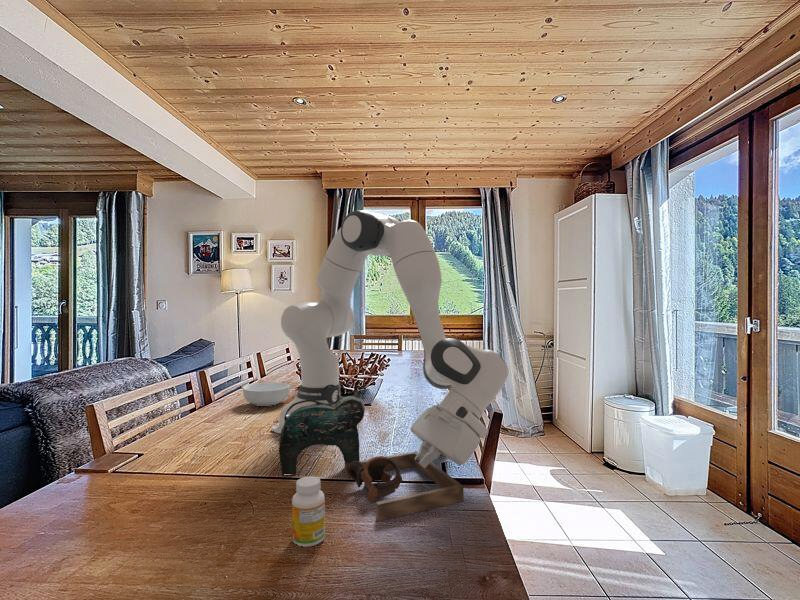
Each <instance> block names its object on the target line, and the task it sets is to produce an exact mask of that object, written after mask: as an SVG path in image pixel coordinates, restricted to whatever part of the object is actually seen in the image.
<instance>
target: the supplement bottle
mask: <svg viewBox="0 0 800 600" xmlns="http://www.w3.org/2000/svg"><path fill="white" fill-rule="evenodd" d="M321 485H322V483H321V479H320V477H317V476H304V477H301V478H299V479H297V480H296V483H295V488H296V489H295V492H296V493H294V494H293V496H292V499H291V521H292V522H291V531H292V532H291V533H292V542H293V543H294V544H295V545H296V544H297V546H299V547H301V546H303V548H306V547H307V548H308V547H309V548H310V547H312V546H313V547H314V546H317V545H318V544H320V543H321V542H323V540H324V539H325V537H326V512H325V511H326V510H325V509H326V508H325V506H326V504H325V503H326V502H325V501H326V499H325V494H324V491H322V490H321Z"/></svg>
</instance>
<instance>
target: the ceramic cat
mask: <svg viewBox="0 0 800 600" xmlns="http://www.w3.org/2000/svg"><path fill="white" fill-rule="evenodd" d="M330 386H333V387H335V388H336V389H337V390H338V388H337V387H336V386H335V385H332V384H330V385H327V386H325V387H324V389H323V391H324V390H325V389H326V388H327V387H330ZM303 402H315V403H316V404H313V405H309V406H303V407H300V408H298V409H297V410H295V411H293V412H292V413H291V414H290V415H289V416H288V418H286V416H287V413H288V412H289V410H290V409H291V408H292V407H293V406H295V405H296V404H300V403H303ZM334 403H336V404H335V405H332V404H334ZM365 407H366V406H365V402H364V401H363V399H362V395H361V392H360V391H359V390H357V391H355V392H354V394H353V395H348V396H342V395H341V394H340V395H339V390H338V394H337V400H336V401H335V402H333V403H331V404H327V403H321V402H317V401H314V400H304V401H300V402H297V403H294V404H292V405H291V406H290V407H289V409H288V410H287V412H286V414H285V418H284V420H285V423H284V426H283V428H282V431H281V434H280V435H279V445H278V446H279V447H278V454H279V461H280V462H279V463H280V469H281V475H282V476H283V475H284V474H297V466H298V465H297V464H298V457H299V456H300V454H301V453H302V452H303V451H304V450H305V449H308V448H309V447H311V446H312V447H313V446H317V445H318V446H336V447H337V448H338V449H339V450H340V452H341V454H342V456H343V461H344V464H345V463H350V462H352V461H360V447H361V446H360V438H359V436H360V435H359V430H358V425H359V424H360V423H361V422H362V421H363V419H364V416H365Z"/></svg>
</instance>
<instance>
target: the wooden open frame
mask: <svg viewBox="0 0 800 600" xmlns="http://www.w3.org/2000/svg"><path fill="white" fill-rule="evenodd" d="M418 453H419V451H417V450H416V451H412V452H411V451H410V452H405V453H399V454H394V455H393V454H391V455H387V456H385V457H388V458H391V459H392V460H394V461H395V462H396V463H397V464H398V466H399V469H405V468H410V467H415V468H417V469H418V470H420V472H422V473H423V474H424V475H425V476H427V477H428V478H429V479H430V480H432V481H433V482H434V483H435V484H436V485H437V486H439V487H440V488H436V489H431V490H428V491H422V492H417V493H412V494H407V495H403V496H399V497H394V498H390V499H385V500H381V501H376V502H375V507H376V508H375V509H376V510H375V513H376V514H375V517H376V518H375V519H376V520H377V522H380V521H385V520H388V519H393V518H397V517H402V516H405V515H406V516H407V515H411V514H414V513H415V514H416V513H419V512H424V511H427V510H431V509H436V508H439V507H444V506H449V505H453V504H457V503H461V502H464V485H463V484H462V483H460V482H459V481H457V480H456V479H455V478H453V477H452V476H450V475H449V474H448V473H447V472H445V471H444V470H443V469H441V467H438V466H437V465H435V464H434V463H433V461H432V462H430V463H429V464H428V465H427V467H426V468H423V467H422V466H421V465H420V464H418V463H417V462H416V461H415V457H416V456H417V454H418ZM370 459H371V458H370ZM370 459H363V460H359V462H362V463H365V464H366V463H367V462H368V460H370ZM348 465H349V463H345V462H344V478H345V479H346V478H347V479H352V478H351V477H350V475H349V474H348V471H347V467H348ZM384 471H385V472H389V471H396V470H395V468H394V467H393V466H392V465H391V464H389V465H386V466H385V468H384Z"/></svg>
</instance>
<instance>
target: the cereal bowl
mask: <svg viewBox="0 0 800 600" xmlns="http://www.w3.org/2000/svg"><path fill="white" fill-rule="evenodd" d="M242 390H243V391H242V393H243V398H244V400H245V401H247V403H249V404H253V405H255V406H256V405H258V406H270V407H272V406H271V405H275V406H277V405H278V404H279V403H282V402H283V401H285V400H286V399H287V398H288V397H289V394H290V391H291V386H290V384H288V383H286V382H280V381H264V382H255V383H250V384H246V385H244V386H243V388H242ZM276 404H277V405H276ZM258 406H257V407H258Z"/></svg>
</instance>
